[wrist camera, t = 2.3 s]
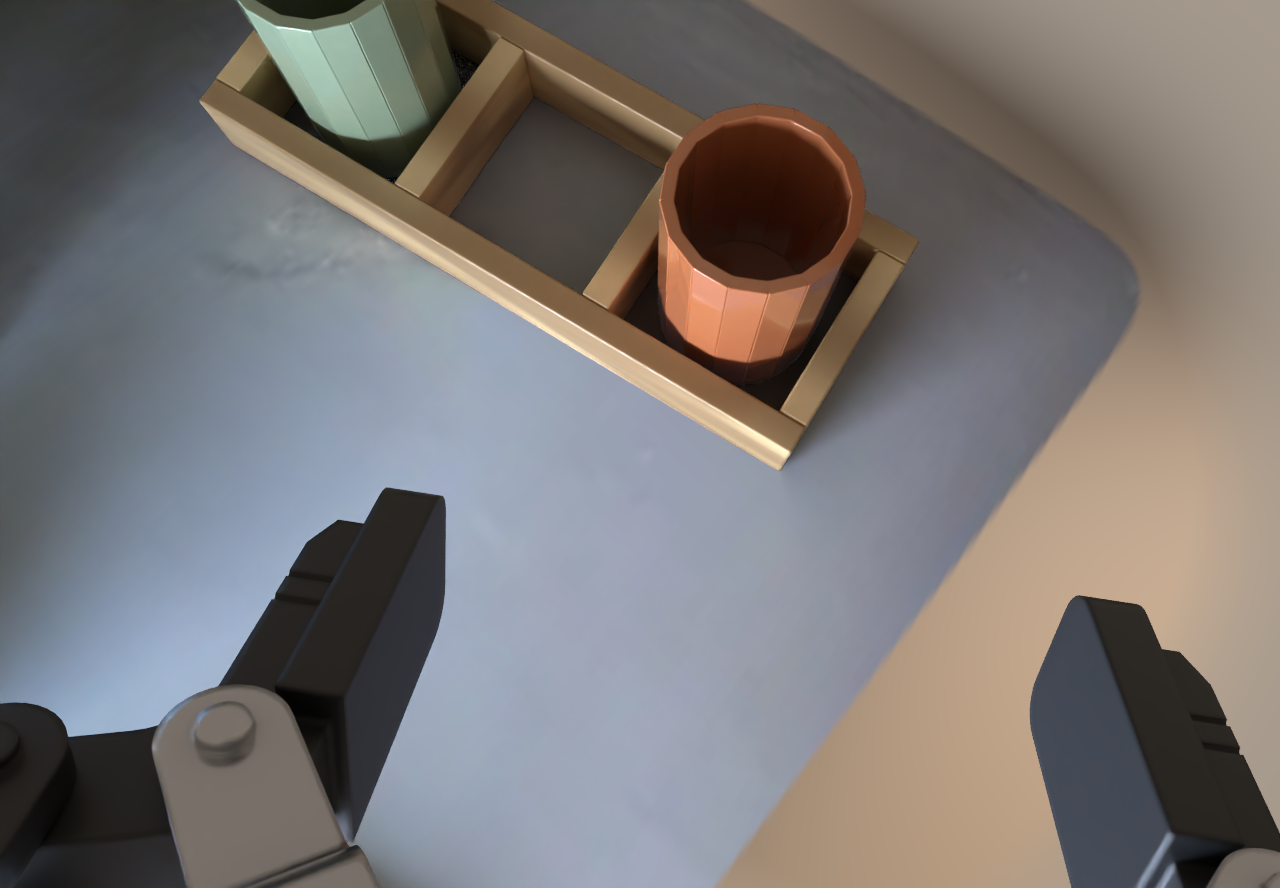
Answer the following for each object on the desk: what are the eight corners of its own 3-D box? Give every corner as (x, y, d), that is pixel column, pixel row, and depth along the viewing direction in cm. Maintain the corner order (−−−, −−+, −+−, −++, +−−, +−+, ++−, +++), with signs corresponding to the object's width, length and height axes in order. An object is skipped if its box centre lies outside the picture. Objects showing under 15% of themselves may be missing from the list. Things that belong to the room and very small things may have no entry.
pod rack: (363, -29, 40) (341, -85, 37) (899, 274, 37) (920, 239, 34) (231, 144, 39) (197, 100, 36) (779, 472, 36) (790, 454, 33)
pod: (494, 87, 39) (448, -84, 30) (410, 204, 38) (338, 63, 29) (373, 19, 40) (293, -169, 31) (287, 132, 39) (181, -28, 30)
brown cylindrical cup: (843, 286, 37) (901, 166, 29) (764, 414, 36) (799, 330, 28) (710, 211, 38) (727, 70, 29) (629, 334, 37) (622, 227, 28)
